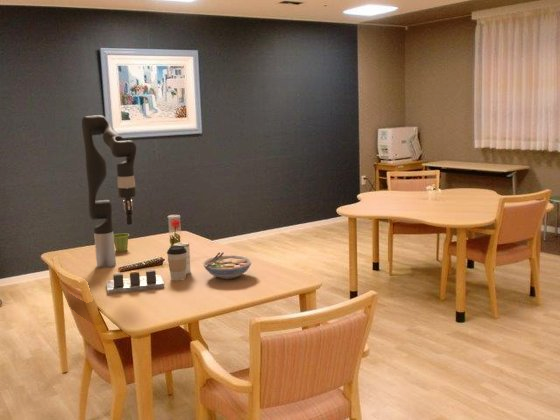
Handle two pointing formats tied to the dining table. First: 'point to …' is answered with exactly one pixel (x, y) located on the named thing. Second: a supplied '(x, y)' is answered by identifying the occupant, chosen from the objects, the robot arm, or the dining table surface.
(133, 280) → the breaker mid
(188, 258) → the syrup box
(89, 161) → the robot arm
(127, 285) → the panel
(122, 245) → the plant pot
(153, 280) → the block
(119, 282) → the block
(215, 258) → the ramen bowl
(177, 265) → the coffee cup
